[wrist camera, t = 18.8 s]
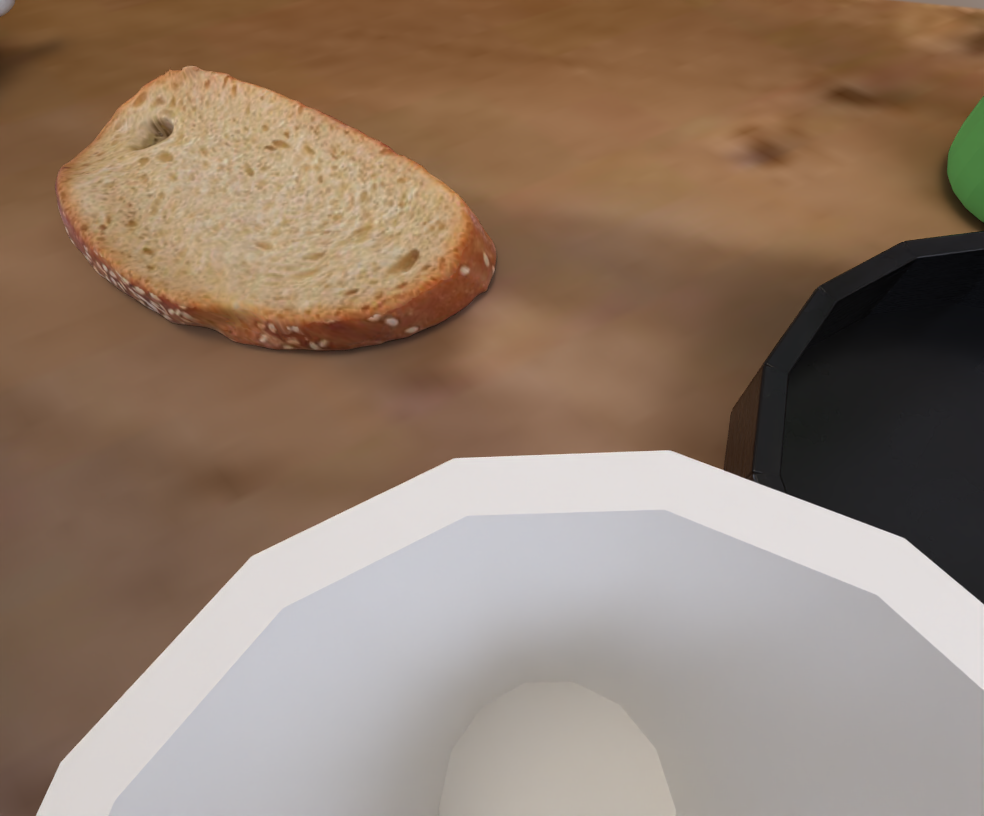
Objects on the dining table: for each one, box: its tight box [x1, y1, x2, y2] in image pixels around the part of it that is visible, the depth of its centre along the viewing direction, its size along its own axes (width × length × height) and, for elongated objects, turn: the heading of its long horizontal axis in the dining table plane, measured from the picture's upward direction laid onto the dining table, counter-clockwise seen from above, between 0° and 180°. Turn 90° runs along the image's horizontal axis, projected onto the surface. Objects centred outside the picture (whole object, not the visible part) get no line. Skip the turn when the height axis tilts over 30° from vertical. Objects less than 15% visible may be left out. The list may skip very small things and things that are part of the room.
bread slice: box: [55, 66, 496, 351], centre depth 25 cm, size 18×18×4 cm
